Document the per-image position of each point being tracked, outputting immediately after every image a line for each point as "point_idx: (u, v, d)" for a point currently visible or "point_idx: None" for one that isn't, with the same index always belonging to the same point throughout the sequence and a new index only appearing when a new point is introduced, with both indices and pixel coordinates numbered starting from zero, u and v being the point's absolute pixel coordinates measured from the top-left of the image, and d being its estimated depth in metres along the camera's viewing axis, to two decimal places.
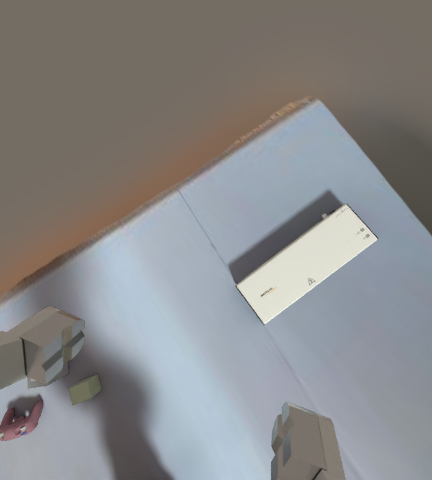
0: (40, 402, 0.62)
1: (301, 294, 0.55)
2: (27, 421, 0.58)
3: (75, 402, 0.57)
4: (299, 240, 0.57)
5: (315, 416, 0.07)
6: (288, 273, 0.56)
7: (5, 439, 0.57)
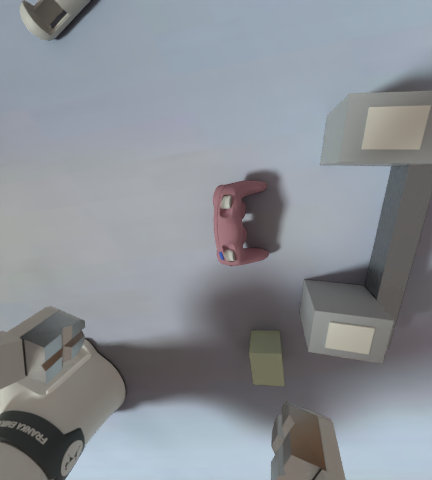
0: None
1: None
2: (242, 260, 0.27)
3: (252, 358, 0.30)
4: None
5: (315, 417, 0.07)
6: None
7: (216, 218, 0.25)
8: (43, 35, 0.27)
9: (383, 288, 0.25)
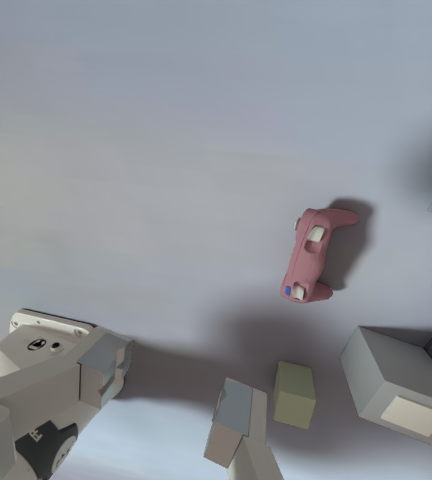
0: None
1: None
2: (308, 300, 0.23)
3: (281, 397, 0.27)
4: None
5: (250, 390, 0.08)
6: None
7: (298, 250, 0.20)
8: None
9: None
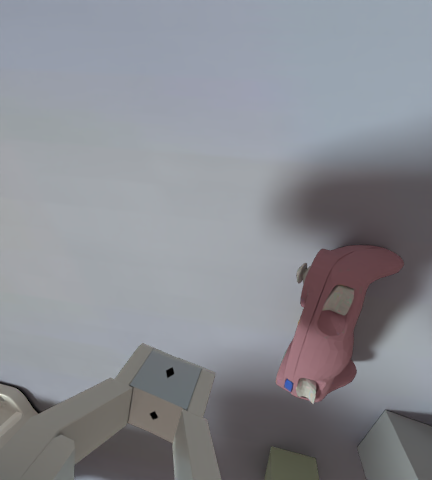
0: None
1: None
2: None
3: None
4: None
5: (199, 369, 0.08)
6: None
7: (307, 329, 0.11)
8: None
9: None
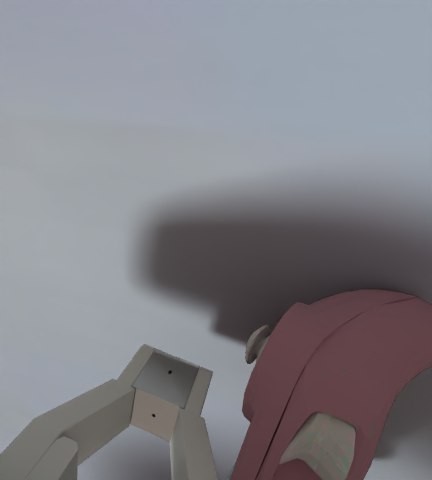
0: None
1: None
2: None
3: None
4: None
5: (196, 368, 0.08)
6: None
7: None
8: None
9: None
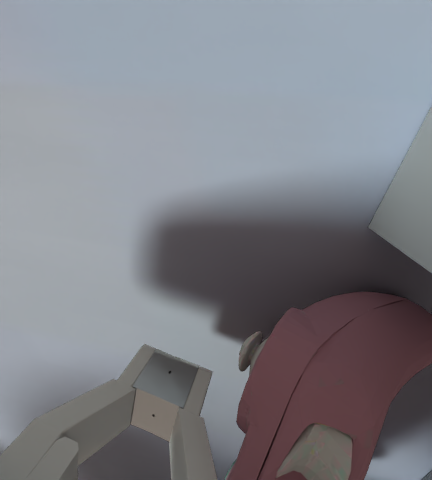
0: None
1: None
2: None
3: None
4: None
5: (196, 368, 0.08)
6: None
7: None
8: None
9: None
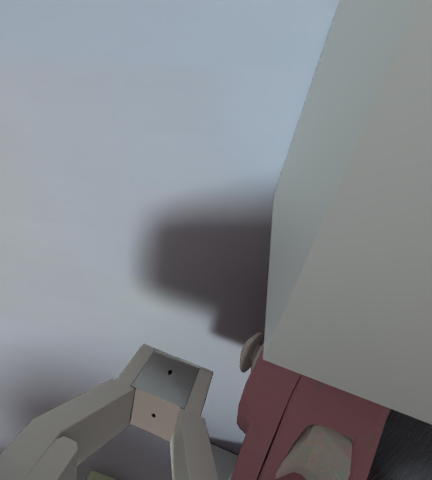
0: None
1: None
2: None
3: None
4: None
5: (197, 369, 0.08)
6: None
7: None
8: None
9: None
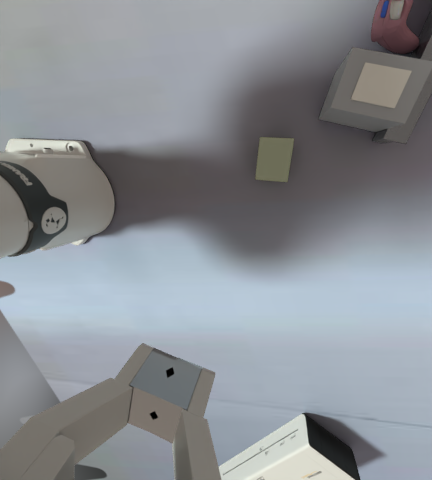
0: (410, 51, 0.25)
1: (269, 469, 0.45)
2: (403, 24, 0.22)
3: (261, 145, 0.28)
4: None
5: (199, 369, 0.08)
6: None
7: None
8: None
9: None
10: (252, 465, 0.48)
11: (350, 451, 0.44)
